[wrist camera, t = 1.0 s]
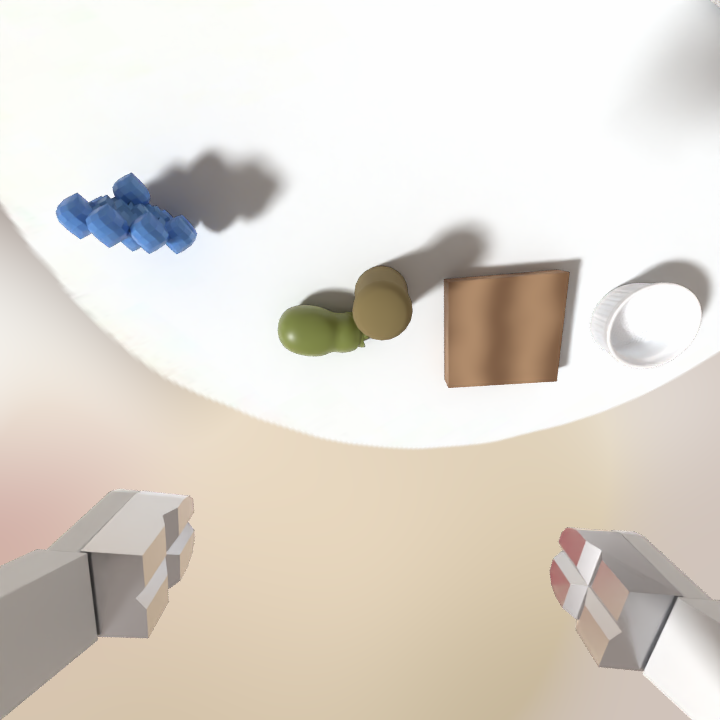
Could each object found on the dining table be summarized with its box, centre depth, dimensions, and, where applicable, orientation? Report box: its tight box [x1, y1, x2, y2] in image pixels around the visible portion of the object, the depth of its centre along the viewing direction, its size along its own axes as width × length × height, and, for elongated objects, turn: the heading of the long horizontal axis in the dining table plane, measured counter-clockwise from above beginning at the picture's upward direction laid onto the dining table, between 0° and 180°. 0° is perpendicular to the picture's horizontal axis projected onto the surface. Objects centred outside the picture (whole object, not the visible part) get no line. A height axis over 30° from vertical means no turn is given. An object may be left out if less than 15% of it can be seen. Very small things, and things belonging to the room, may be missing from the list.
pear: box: [278, 305, 369, 356], centre depth 38 cm, size 6×5×10 cm
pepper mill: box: [352, 266, 413, 340], centre depth 33 cm, size 6×6×11 cm
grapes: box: [56, 173, 197, 254], centre depth 31 cm, size 12×7×12 cm, turn 77°
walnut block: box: [444, 270, 570, 388], centre depth 38 cm, size 12×12×2 cm
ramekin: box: [590, 282, 702, 369], centre depth 36 cm, size 9×9×4 cm
